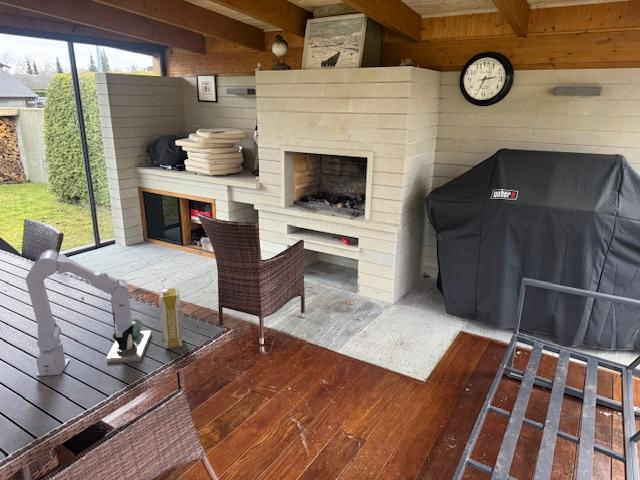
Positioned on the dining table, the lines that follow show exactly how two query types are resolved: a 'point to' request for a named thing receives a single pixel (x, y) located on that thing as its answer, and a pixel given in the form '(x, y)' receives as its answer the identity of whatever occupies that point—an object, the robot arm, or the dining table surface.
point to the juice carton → (171, 318)
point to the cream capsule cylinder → (129, 343)
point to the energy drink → (113, 309)
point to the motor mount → (139, 346)
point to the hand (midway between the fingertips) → (126, 344)
